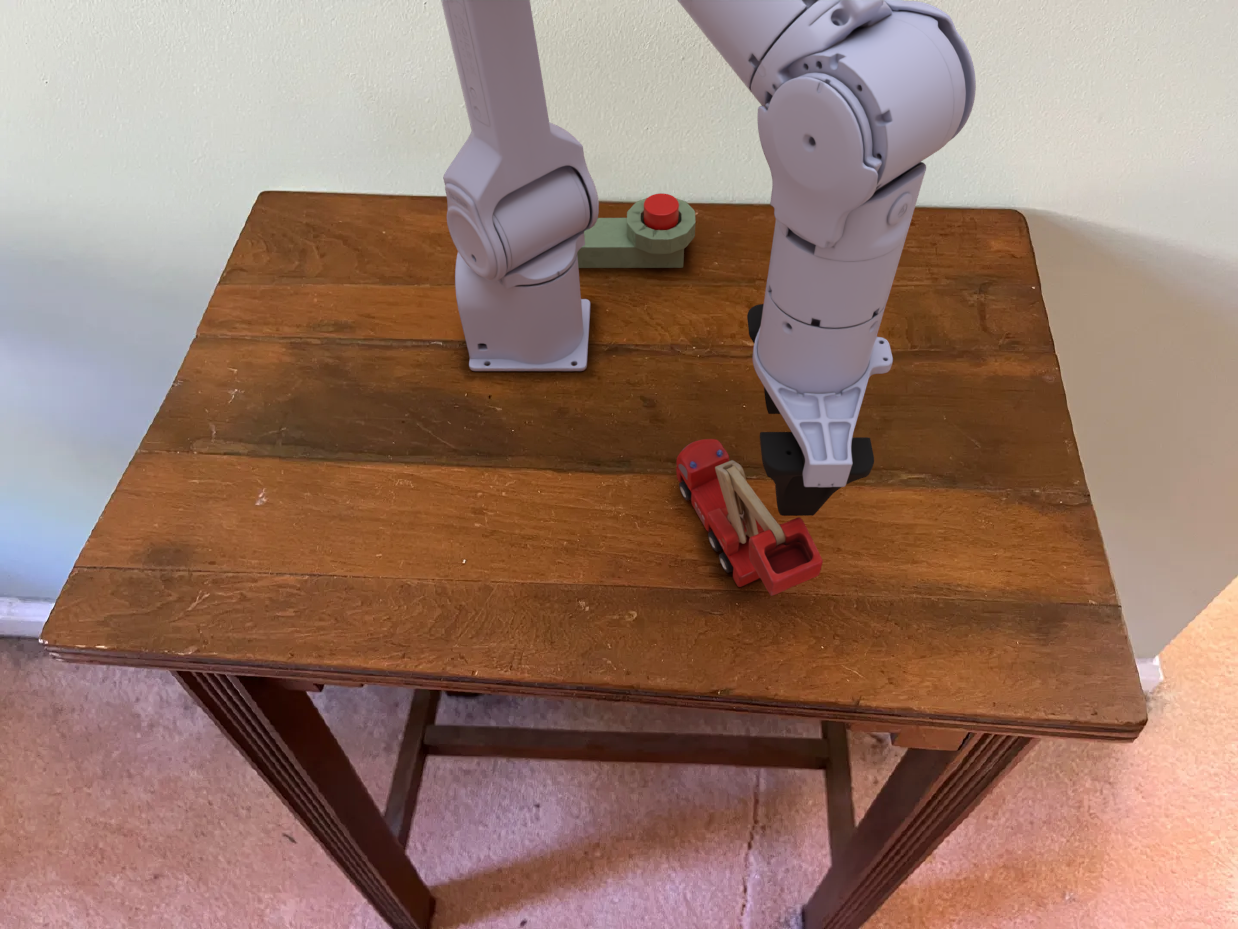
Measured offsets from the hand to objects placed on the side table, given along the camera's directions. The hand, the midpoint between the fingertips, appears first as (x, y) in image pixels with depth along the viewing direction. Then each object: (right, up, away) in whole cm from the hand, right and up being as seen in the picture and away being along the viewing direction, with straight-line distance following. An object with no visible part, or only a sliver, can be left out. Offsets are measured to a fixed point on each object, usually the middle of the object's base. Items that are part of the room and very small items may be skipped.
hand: (790, 458), depth 52 cm
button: (-7, +21, +23) cm, 32 cm away
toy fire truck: (-2, -6, +8) cm, 10 cm away
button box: (-10, +19, +26) cm, 33 cm away
